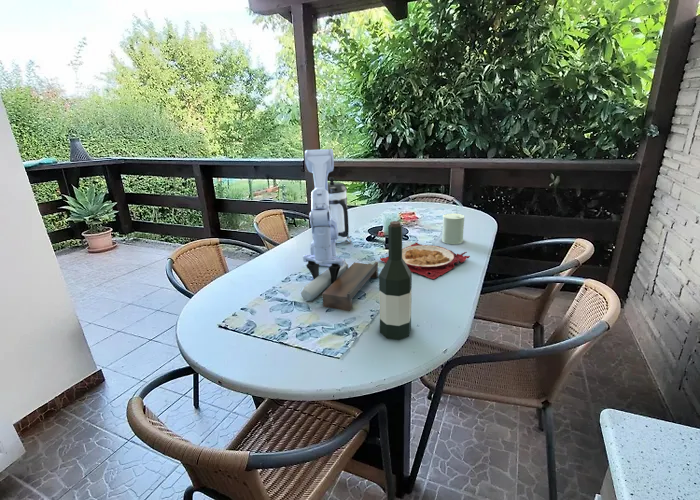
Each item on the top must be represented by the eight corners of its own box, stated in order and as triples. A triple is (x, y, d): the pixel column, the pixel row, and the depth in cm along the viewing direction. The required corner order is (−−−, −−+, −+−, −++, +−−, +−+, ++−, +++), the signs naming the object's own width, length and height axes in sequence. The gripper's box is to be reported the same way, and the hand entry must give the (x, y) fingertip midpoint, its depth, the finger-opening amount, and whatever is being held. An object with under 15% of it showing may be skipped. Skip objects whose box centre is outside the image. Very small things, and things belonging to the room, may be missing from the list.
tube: (313, 293, 112) (350, 263, 132) (299, 285, 113) (337, 257, 134) (310, 306, 114) (346, 275, 135) (296, 299, 116) (334, 269, 136)
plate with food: (416, 246, 159) (416, 239, 158) (470, 259, 141) (470, 251, 140) (378, 262, 144) (378, 254, 143) (433, 279, 126) (433, 270, 125)
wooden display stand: (323, 306, 112) (321, 290, 110) (354, 273, 134) (354, 259, 132) (350, 311, 108) (349, 294, 106) (378, 276, 131) (377, 261, 129)
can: (452, 245, 157) (453, 218, 153) (437, 240, 165) (438, 214, 160) (467, 241, 161) (469, 215, 157) (452, 236, 169) (453, 211, 165)
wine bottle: (377, 324, 101) (375, 219, 90) (407, 321, 101) (408, 216, 91) (382, 341, 93) (380, 228, 83) (414, 338, 94) (417, 226, 83)
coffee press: (312, 247, 163) (307, 180, 153) (327, 236, 177) (323, 174, 167) (348, 250, 157) (345, 180, 147) (361, 239, 171) (358, 174, 161)
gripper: (297, 247, 119) (300, 285, 124) (337, 251, 113) (340, 290, 118) (307, 240, 125) (310, 276, 130) (346, 244, 120) (348, 281, 124)
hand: (325, 282), depth 124 cm, fingers open, 6 cm apart
